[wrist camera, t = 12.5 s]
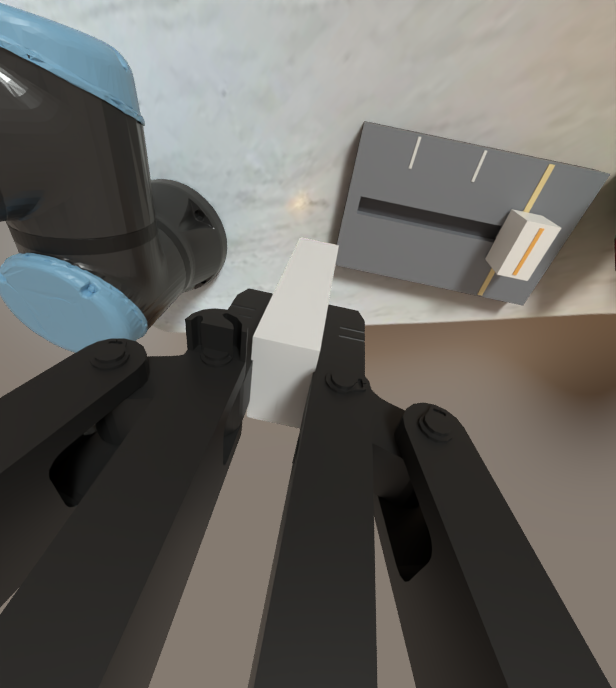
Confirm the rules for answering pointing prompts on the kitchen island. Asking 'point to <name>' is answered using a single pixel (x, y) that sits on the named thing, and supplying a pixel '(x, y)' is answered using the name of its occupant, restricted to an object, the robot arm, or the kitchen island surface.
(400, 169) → the console
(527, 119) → the kitchen island surface
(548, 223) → the fader tab
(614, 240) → the mug
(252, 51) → the kitchen island surface
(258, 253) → the kitchen island surface
